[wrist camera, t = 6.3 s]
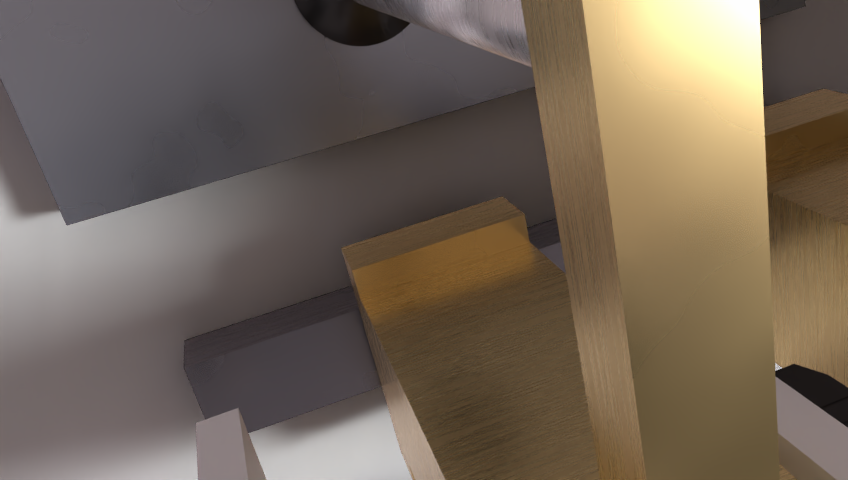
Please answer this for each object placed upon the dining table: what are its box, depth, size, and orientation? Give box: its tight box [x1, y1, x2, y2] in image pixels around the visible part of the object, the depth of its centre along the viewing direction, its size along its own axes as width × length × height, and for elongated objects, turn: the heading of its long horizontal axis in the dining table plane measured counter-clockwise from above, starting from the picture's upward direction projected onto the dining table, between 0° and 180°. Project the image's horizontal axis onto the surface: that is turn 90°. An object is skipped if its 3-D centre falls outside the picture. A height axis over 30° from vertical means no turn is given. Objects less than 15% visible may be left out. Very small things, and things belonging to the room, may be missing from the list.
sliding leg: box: [341, 0, 797, 480], centre depth 11 cm, size 4×12×11 cm, turn 12°
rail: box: [184, 219, 566, 433], centre depth 18 cm, size 15×2×1 cm, turn 102°
